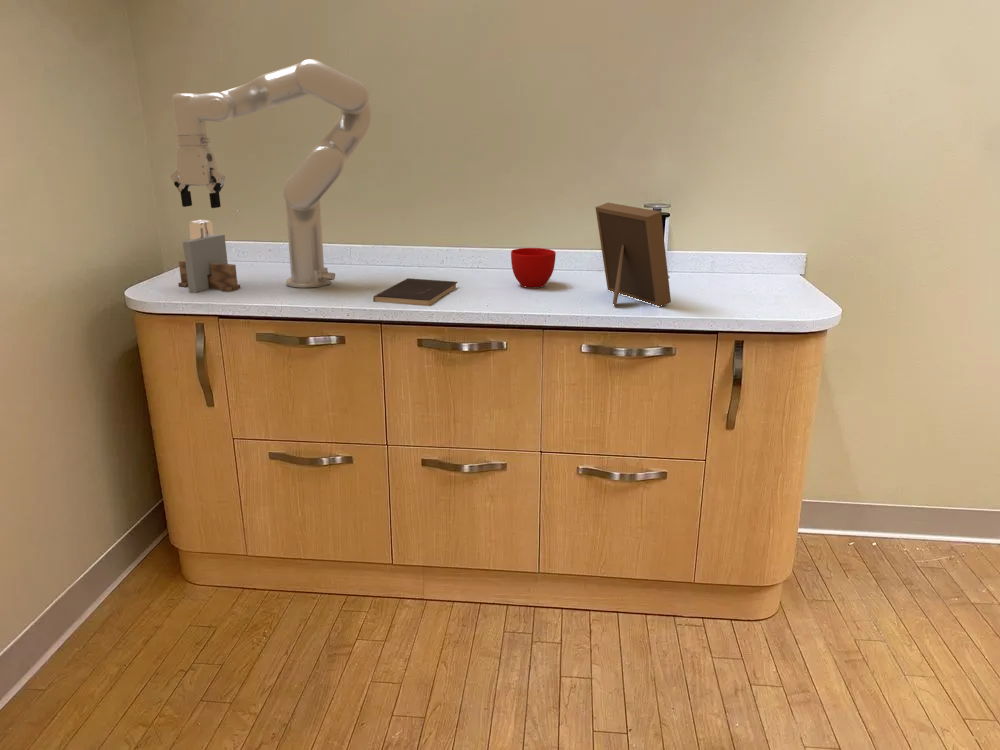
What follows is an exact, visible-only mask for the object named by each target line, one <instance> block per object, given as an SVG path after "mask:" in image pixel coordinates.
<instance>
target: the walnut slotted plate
mask: <svg viewBox="0 0 1000 750" xmlns="http://www.w3.org/2000/svg"><path fill="white" fill-rule="evenodd" d="M178 267H179V275H180V282H178V287H179V286H180V287H181V288H188V280H187V272H186V264H185V259H182V260H178ZM210 267H211V275H210V274H209V275H207V276H208V285H209V289H212V290H213V289H214V290H221V291H222V292H228V293H229V292H232V291H233V292H234V291H237V290H239V289H241V287H242V286H241V284H239V283H238V277H237V276H238V275H237V268H236V264H232V263H228V264H222V263H212V264H210Z"/></svg>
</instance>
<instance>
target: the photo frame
mask: <svg viewBox="0 0 1000 750" xmlns="http://www.w3.org/2000/svg"><path fill="white" fill-rule="evenodd" d="M594 208H595V214H596V219H597V220H596V221H597V227H598V234H599V241H600V246H601V254H602V259H603V268H604V274H605V281H606V287H607V288H606V289H607V291H608V290H610V291H613V292H614V293H613V297H612V298H613V299H612V305H613V304H614V306H616V307H617V305H618V299H619V295H618V294H619V293H620V294H623V295H627V296H630V297H633V298H636V299H639V300H642V301H645V302H648V303H651V304H654V305H657V306H661V305H663V306H665V305H668V304H670V303H671V302H672V298H671V290H670V289H671V288H670V281H669V271H668V264H667V262H668V261H667V254H666V244H665V236H664V228H663V227H664V226H663V216H662V211H659V210H652V209H648V208H642V207H641V208H640V207H635V206H629V205H625V204H624V205H623V204H618V203H612V202H606V203H603V204H601V205H598V206H595V207H594ZM614 306H613V307H614ZM661 307H662V306H661Z"/></svg>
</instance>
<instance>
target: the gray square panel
mask: <svg viewBox="0 0 1000 750" xmlns="http://www.w3.org/2000/svg"><path fill="white" fill-rule="evenodd" d="M182 246H183V254H184V255H183V256H184V260H185V264H186V272H187V280H188V287H187V288H188V292H189V293H193V292H197V293H200V292H204V291H207V290H210V288H209V285H208V276H207V275H209V274H210V275H211V267H210V264H212V263H222V264H229V263H228V254H227V253H228V252H227V245H226V236H225V234H219V233H218V234H214V235H212V236H207V237H202V238H197V239H193V240H191V239H188V240H184V241H182ZM203 290H204V291H203ZM199 291H200V292H199Z"/></svg>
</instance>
